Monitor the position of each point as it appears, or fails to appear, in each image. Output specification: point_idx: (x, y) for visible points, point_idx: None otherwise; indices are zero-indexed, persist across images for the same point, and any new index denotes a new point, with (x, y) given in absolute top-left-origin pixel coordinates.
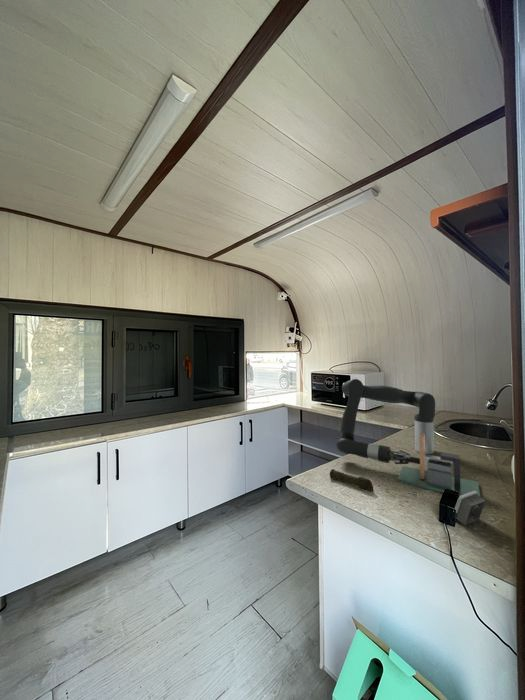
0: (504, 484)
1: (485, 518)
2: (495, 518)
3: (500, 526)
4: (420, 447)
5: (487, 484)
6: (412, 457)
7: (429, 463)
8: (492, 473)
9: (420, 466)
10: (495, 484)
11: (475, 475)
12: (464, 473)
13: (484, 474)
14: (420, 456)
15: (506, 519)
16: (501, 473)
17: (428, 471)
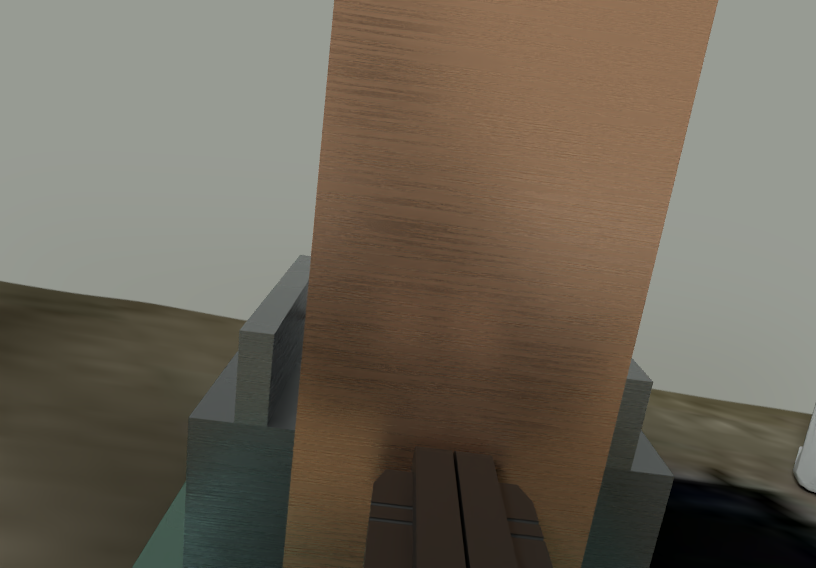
0: (190, 316)
1: (753, 441)
2: (698, 414)
3: (764, 417)
4: (672, 143)
5: (224, 355)
6: (486, 552)
7: (640, 372)
8: (5, 310)
9: (582, 551)
10: (207, 335)
11: (59, 363)
12: (18, 397)
13: (30, 333)
14: (629, 353)
15: (657, 391)
16: (2, 290)
17: (663, 490)
